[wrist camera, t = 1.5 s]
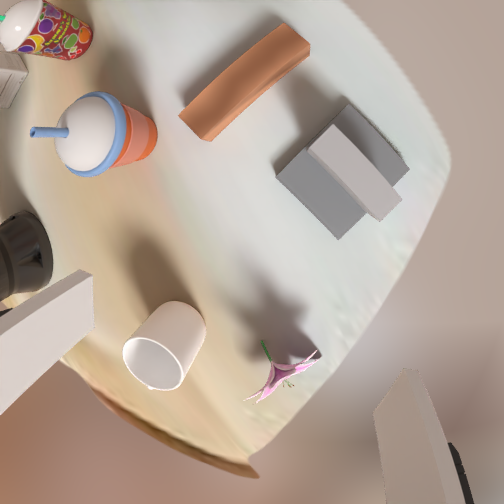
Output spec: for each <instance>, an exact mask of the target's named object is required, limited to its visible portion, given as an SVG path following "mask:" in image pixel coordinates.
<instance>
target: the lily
mask: <svg viewBox="0 0 504 504" xmlns="http://www.w3.org/2000/svg"><path fill="white" fill-rule="evenodd" d="M261 343H262V346H263V348H264V350H265V352H266V354H267V356H268V358H269V360H270V362H271V371H270V375H269V378H268V381H267V383H266V384H265V386H264V387H263V388H262V389H261V390H260V391H258V392H257V393H255V394H254V395H252V396H250V397H249V398H247V399H245V400H248V399H250V398H252V397H255V396H256V395H258V394H260V393H261V392H262V391H263V390H264V391H263V394H262V396H261V397H260V399H259V400H258V401H260V400H262V399H263V398H265V397H267V396H268V395H270V394H271V393H272V392H273V391H274V390H275V389H276V388H277V387H278V385H279V384H280V383H282V382H283V381H285V382H286V383H287V384H288V382H287V381H286V379H287V378H289V377H290V376H292V375H295V374H298V373H300V372H302V371H304V370H306V369H307V368H309V367H310V366H311V365H313V364H314V363H315V362H316V361H317V360H318V359H317V360H316V361H314V362H312V363H309V364H304V365H299V364H302V363H304V362H306V361H307V360H309V359H310V358H311V357H312V356H313V355H314V354H315V353H316V351H317V350H316V351H315V352H314V353H313V354H311V355H310V356H309V357H307V358H306V359H305V360H303V361H302V362H300V363H297V364H293V365H285V364H276V363H274V362H273V361H272V359H271V357H270V355H269V353H268V351H267V349H266V347H265V345H264V343H263V341H261ZM320 358H321V357H320ZM320 358H319V359H320ZM290 384H291V383H290ZM291 385H292V384H291ZM288 386H289V387H291V386H290V385H289V384H288ZM292 386H294V385H292ZM283 387H284V383H283ZM264 388H265V389H264ZM245 400H243V401H245ZM258 401H257V402H258ZM255 403H256V402H255ZM252 405H253V404H252Z"/></svg>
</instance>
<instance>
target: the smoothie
mask: <svg viewBox="0 0 504 504" xmlns="http://www.w3.org/2000/svg"><path fill="white" fill-rule="evenodd" d="M92 37H93V34H92V31H91V29H90V27H89V25H88V24H86V23H84V22H83V21H81V20H79V19H78V18H76V17H74V16H72V15H71V14H69V13H67V12H65V11H64V10H62V9H60V8H58V7H56V6H54V5H53V4H51V3H49V2H47V1H45V0H23V1H20V2H18V3H16V4H15V5H13V6H12V7H11V8H9V10H7V12H6V13H5V14H4V15H3V16H1V15H0V43H1V44H2V45H3V46H4V49H5V50H6V51H7V52H10V51H12V52H19V53H27V54H34V55H40V56H46V57H52V58H57V59H62V60H71V59H75V58H78V57H80V56H81V55H82V54H83V53H84V52H85V51H86V50H87V49H88V47H89V46H90V44H91V41H92Z"/></svg>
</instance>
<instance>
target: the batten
mask: <svg viewBox="0 0 504 504" xmlns="http://www.w3.org/2000/svg"><path fill="white" fill-rule="evenodd" d="M309 55H310V43H309V42H307V41H306V40H305V39H304V38H303V37H301V36H300V35H299V34H298V33H296V32H295V31H294V30H293V29H291V28H290V27H289V26H288V25H286V24H285V23H283V24H281V25H280V26H278V27H277V28H276V29H274V30H273V31H272V32H270V33H269V34H268V35H266V36H265V37H264V38H263V39H261V40H260V41H259V42H257V43H256V44H255V45H254V46H252V47H251V48H250V49H249V50H248V51H246V52H245V53H244V54H243V55H242V56H240V57H239V58H238V59H237V60H236V61H234V62H233V63H232V64H231V65H230V66H229V67H228V68H226V69H225V70H224V71H223V72H222V73H221V74H220V75H219V76H218V77H217V78H215V79H214V80H213V81H212V82H211V83H210V84H209V85H208V86H207V87H206V88H205V89H204V90H203V91H202V92H201V93H200V94H199V95H198V96H197V97H196V98H195V99H194V100H193V101H192V102H191V103H190V104H189V105H188V106H187V107H186V108H185V109H184V110H183V111H182V112H181V113H180V114H179V115H178V116H179V117H180V118H181V119H182V120H183V121H184V122H185V123H186V124H187V125H188V126H189V128H190V129H191V130H192V131H193V132H194V133H195V134H196V135H197V136H198V137H199V138H200V139H202V140H206V141H212V140H213V139H214V138H215V137H216V136H217V135H218V134H219V133H220V132H221V131H222V130H223V129H225V128H226V127H227V126H228V125H229V124H230V123H231V122H232V121H233V120H234V119H235V118H236V117H237V116H238V115H239V114H241V113H242V112H243V111H244V110H245V109H246V108H247V107H248V106H249V105H250V104H252V103H253V102H254V101H255V100H256V99H257V98H258V97H259V96H261V95H262V94H263V93H264V92H265V91H266V90H268V89H269V88H270V87H271V86H272V85H273V84H275V83H276V82H277V81H278V80H279V79H281V78H282V77H283V76H284V75H286V74H287V73H288V72H289V71H291V70H292V69H293V68H294V67H296V66H297V65H298V64H299V63H301V62H302V61H303V60H305V59H306V58H307V57H308V56H309Z"/></svg>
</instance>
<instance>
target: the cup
mask: <svg viewBox="0 0 504 504" xmlns="http://www.w3.org/2000/svg"><path fill="white" fill-rule="evenodd" d="M205 336H206V326H205V322H204V320H203V318H202V316H201V315H200V314H199V313H198V311H197V310H196V309H194V308H193V307H192V306H190V305H188V304H186V303H183V302H180V301H169V302H166V303H163V304H162V305H160V306H159V307H158V308H157V309H156V310H155V311H154V312H153V313H152V314H151V315H150V316H149V317H148V318H147V319H146V320H145V322H144V323H143V324H142V325H141V326H140V327H139V328H138V329H137V330H136V331H135V332H134V333H133V334H132V335H131V337H130V338H129V339H128V340H127V341H126V342H125V343H124V345H123V349H122V355H123V360H124V362H125V364H126V366H127V368H128V369H129V371H130V372H131V373H132V374H133V375H134V376H135V377H136V378H137V379H138V380H139V381H141V382H142V383H144V384H145V385H147V387H148V388H149V389H158V390H172V389H175V388H177V387H178V386H179V385H180V384H181V383H182V381H183V379H184V377H185V375H186V374H187V372H188V370H189V368H190V366H191V364H192V362H193V361H194V359H195V357H196V355H197V353H198V351H199V350H200V348H201V346H202V344H203V342H204V340H205Z"/></svg>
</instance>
